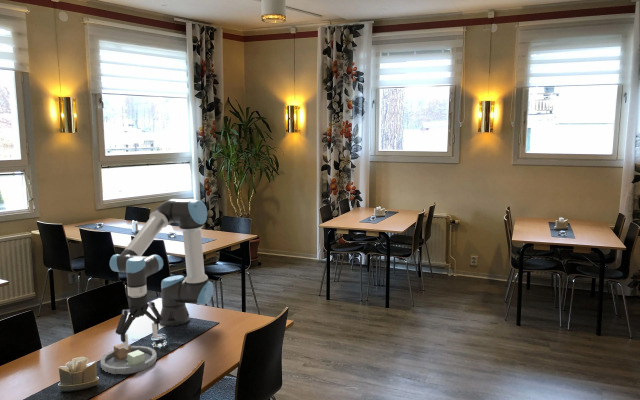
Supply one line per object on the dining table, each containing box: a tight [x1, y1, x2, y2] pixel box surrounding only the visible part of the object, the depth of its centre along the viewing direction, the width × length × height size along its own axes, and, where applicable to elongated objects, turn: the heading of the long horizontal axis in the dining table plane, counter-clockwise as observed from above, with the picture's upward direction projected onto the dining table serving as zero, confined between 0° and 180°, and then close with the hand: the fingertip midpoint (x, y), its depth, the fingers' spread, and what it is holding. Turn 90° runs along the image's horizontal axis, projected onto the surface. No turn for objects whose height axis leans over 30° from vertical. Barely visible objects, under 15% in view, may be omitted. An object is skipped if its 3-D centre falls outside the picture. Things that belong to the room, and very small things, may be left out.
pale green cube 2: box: [127, 350, 145, 366], centre depth 217 cm, size 5×5×5 cm
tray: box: [100, 345, 158, 375], centre depth 221 cm, size 22×22×3 cm
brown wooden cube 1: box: [113, 342, 132, 360], centre depth 225 cm, size 5×5×5 cm
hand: (140, 343), depth 220 cm, fingers open, 13 cm apart
